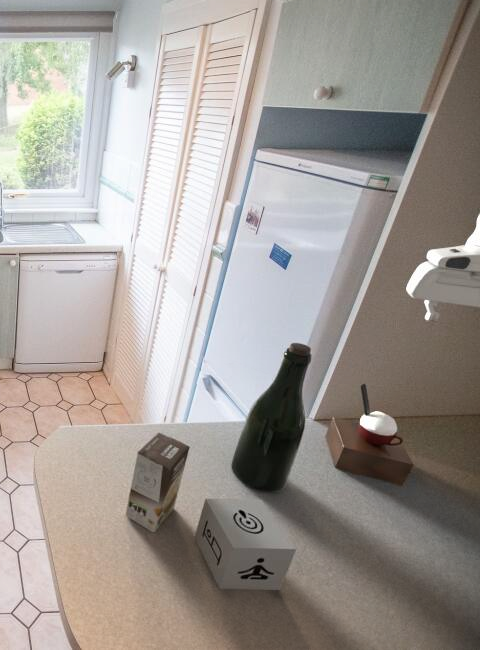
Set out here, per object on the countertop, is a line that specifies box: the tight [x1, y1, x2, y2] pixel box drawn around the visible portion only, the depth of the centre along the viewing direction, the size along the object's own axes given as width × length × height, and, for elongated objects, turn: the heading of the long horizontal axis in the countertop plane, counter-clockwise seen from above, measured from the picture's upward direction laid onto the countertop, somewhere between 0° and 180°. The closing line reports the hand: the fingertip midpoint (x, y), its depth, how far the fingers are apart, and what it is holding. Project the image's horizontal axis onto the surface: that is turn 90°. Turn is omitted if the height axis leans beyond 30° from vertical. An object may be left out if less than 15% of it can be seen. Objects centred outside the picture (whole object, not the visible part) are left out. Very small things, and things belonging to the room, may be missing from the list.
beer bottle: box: [230, 342, 313, 493], centre depth 94 cm, size 10×10×33 cm
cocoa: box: [358, 383, 404, 446], centre depth 100 cm, size 10×6×12 cm, turn 5°
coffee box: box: [124, 432, 191, 533], centre depth 88 cm, size 9×6×16 cm
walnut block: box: [324, 416, 414, 487], centre depth 104 cm, size 12×12×6 cm
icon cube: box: [194, 498, 297, 591], centre depth 79 cm, size 10×10×10 cm
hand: (460, 324), depth 93 cm, fingers open, 8 cm apart
